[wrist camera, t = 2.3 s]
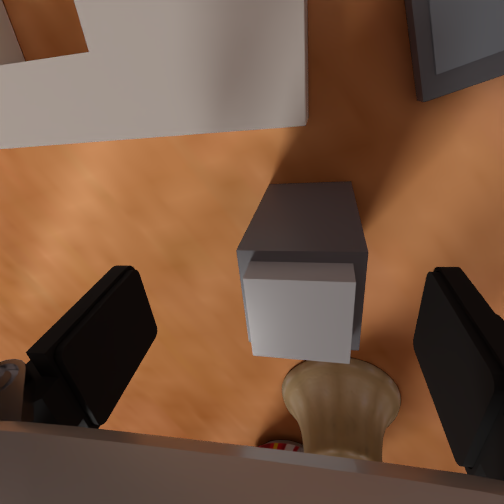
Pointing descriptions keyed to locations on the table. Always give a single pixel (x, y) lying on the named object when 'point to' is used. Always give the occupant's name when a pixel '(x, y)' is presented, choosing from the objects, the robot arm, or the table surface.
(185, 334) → the table surface
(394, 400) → the hand bell
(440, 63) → the phone
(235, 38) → the plate
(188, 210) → the table surface
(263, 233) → the block
